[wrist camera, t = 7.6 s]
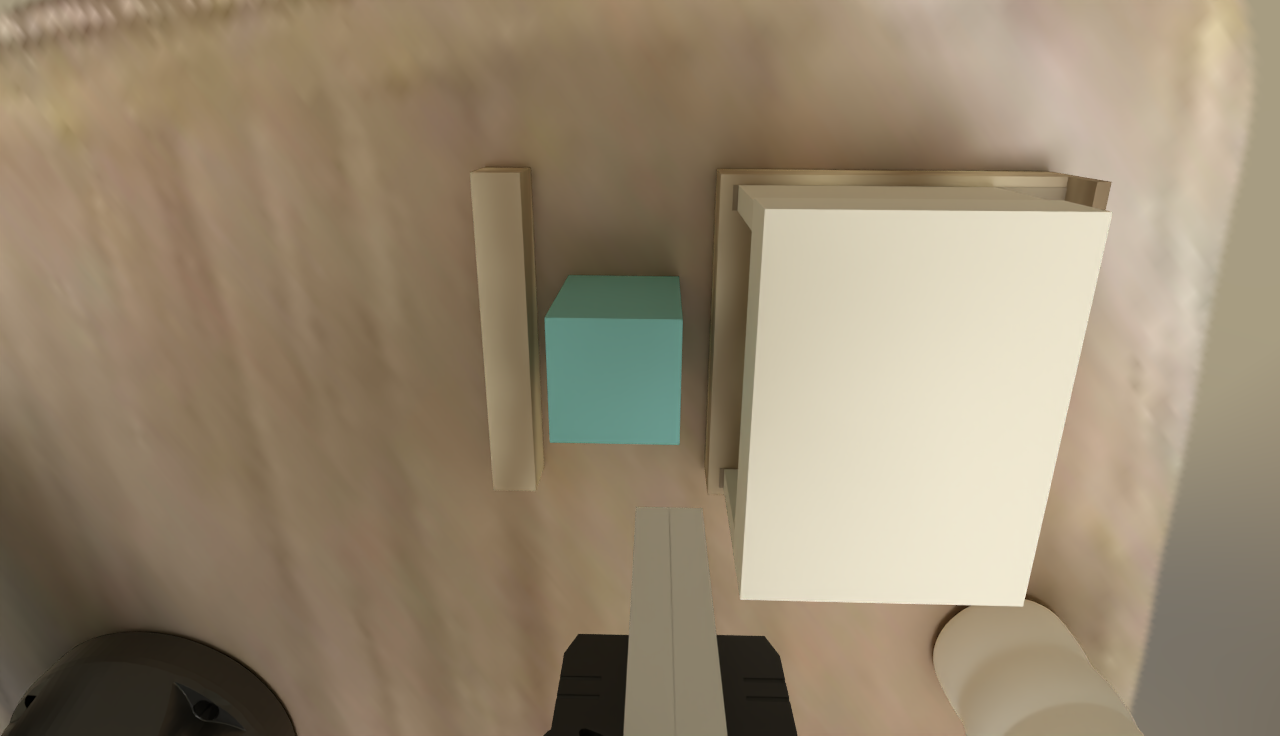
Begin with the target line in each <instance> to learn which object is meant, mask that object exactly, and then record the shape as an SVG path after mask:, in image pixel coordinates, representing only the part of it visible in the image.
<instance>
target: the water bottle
mask: <svg viewBox="0 0 1280 736" xmlns="http://www.w3.org/2000/svg"><path fill="white" fill-rule="evenodd" d="M933 663H934V669H935V672H936V675H937V678H938V680H939V682H940V685H941V687H942V689H943V691H944V693H945V695H946V697H947V698H948V700H949V702H950V704H951V706H952V707H953V709H954V711H955V712H956V714H957V715H958V717H959V718H960V719H961V721H962V722H963V726H964V729H965V733H966V736H1144V734H1143V733H1142V732H1141V731H1140V730H1139V729H1138V727H1137V725H1136V723H1135V721H1134V719H1133V717H1132V715H1131V713H1130V711H1129V710H1128V708H1127V707H1126V705H1125V704H1124V702H1123V701H1122V699H1121V698H1120V697H1119V695H1118V694H1117V693H1116V691H1115V690H1114V689H1113V688H1112V686H1111V685H1110V684H1109V683H1108V682H1107V680H1106V679H1105V678H1104V677H1103V676H1102V675H1101V674H1100V673H1099V672H1098V671H1097V670H1096V669H1095V668H1094V667H1092V665H1091V663H1090V661H1089V660H1088V658H1087V656H1086V654H1085V653H1084V651H1083V649H1082V648H1081V646H1080V645H1079V643H1078V642H1077V640H1076V639H1075V638H1074V636H1073V635H1072V633H1071V632H1070V631H1069V629H1068V628H1067V627H1066V626H1065V624H1064V623H1063V622H1062V621H1061V620H1060V619H1059V618H1058V616H1057V615H1055V614H1054V613H1053V612H1052V611H1050V610H1049V609H1048V608H1046V607H1044V606H1042V605H1040V604H1038V603H1036V602H1033V601H1030V600H1026V599H1025V600H1024V605H1023V607H1022V606H981V605H971V606H969V607H967V608H965V609H964V610H962V611H961V612H959V613H958V614H957V615H955V616H954V617H953V618H952V619H951V620H950V621H949V622H948V623H947V624H946V625H945V627H944V628H943V629H942V631H941V632H940V634H939V636H938V638H937V640H936V643H935V647H934V652H933Z"/></svg>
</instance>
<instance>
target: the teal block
mask: <svg viewBox="0 0 1280 736" xmlns="http://www.w3.org/2000/svg"><path fill="white" fill-rule="evenodd" d="M682 329H683V317H682V305H681V293H680V281H679V276H599V275H568V277H567V279H566V281H565V283H564V284H563V286H562V288H561V290H560V291H559V293H558V295H557V297H556V298H555V300H554V302H553V304H552V305H551V307H550V309H549V311H548V312H547V314H546V316H545V341H546V364H547V388H548V412H549V435H550V442H551V443H605V444H659V445H679V444H680V406H681V368H682Z"/></svg>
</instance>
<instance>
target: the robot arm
mask: <svg viewBox="0 0 1280 736" xmlns="http://www.w3.org/2000/svg"><path fill="white" fill-rule="evenodd" d="M1 736H295V733H294V730H293V727H292V724H291V722H290V720H289V718H288V716H287V714H286V712H285V710H284V709H283V707H282V705H281V704H280V702H279V701H278V700H277V698H276V697H275V696H274V695H273V693H272V692H271V691H270V690H269V689H268V688H267V687H266V686H265V685H264V684H263V683H262V682H261V681H260V680H259V679H258V678H257V677H256V676H255V675H253V674H252V673H251V672H250V671H248V670H247V669H246V668H244V667H243V666H242V665H240V664H239V663H237V662H236V661H234V660H232V659H231V658H229V657H227V656H225V655H224V654H222V653H220V652H218V651H216V650H214V649H211V648H209V647H207V646H204V645H202V644H199V643H196V642H193V641H190V640H187V639H184V638H180V637H176V636H171V635H166V634H159V633H151V632H124V633H115V634H110V635H105V636H101V637H98V638H94V639H92V640H89V641H87V642H84V643H82V644H80V645H78V646H77V647H75V648H73V649H72V650H71V651H69V652H68V653H66V654H65V655H64V656H63V657H62V658H61V659H60V660H59V661H58V662H56V663H55V664H54V665H53V666H52V667H51V668H50V669H49V670H48V671H47V672H46V673H44V674H43V675H42V676H41V677H40V678H39V679H38V680H37V681H36V682H35V683H34V684H33V685H32V686H31V687H30V688H29V690H28V691H27V692H26V693H25V695H24V696H23V697H22V699H21V700H20V702H19V704H18V706H17V707H16V709H15V711H14V713H13V715H12V717H11V721H10V724H9V725H8V727H7V728H6V729H5V731H4V732H3V733H2V735H1ZM544 736H797V731H796V727H795V722H794V718H793V713H792V709H791V704H790V702H789V695H788V691H787V686H786V683H785V677H784V673H783V668H782V664H781V659H780V656H779V654H778V653H777V652H776V651H775V649H774V648H773V647H772V645H771V644H770V643H769V642H768V640H767V639H766V638H765V636H733V635H716V627H715V618H714V609H713V600H712V591H711V582H710V573H709V564H708V555H707V546H706V537H705V528H704V519H703V510H702V508H664V507H636V517H635V535H634V553H633V571H632V590H631V608H630V626H629V635H601V634H578V635H577V637H576V638H575V639H574V641H573V642H572V643H571V645H570V646H569V647H568V649H567V650H566V652H565V653H564V658H563V663H562V669H561V675H560V681H559V687H558V692H557V699H556V704H555V710H554V716H553V721H552V727H551V730H549V731H548V732H547V733H546V734H545V735H544Z"/></svg>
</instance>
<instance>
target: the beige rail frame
mask: <svg viewBox="0 0 1280 736" xmlns="http://www.w3.org/2000/svg"><path fill="white" fill-rule="evenodd" d="M470 182H471V196H472V209H473V223H474V236H475V250H476V263H477V277H478V290H479V303H480V317H481V330H482V344H483V357H484V371H485V384H486V398H487V411H488V424H489V438H490V451H491V465H492V478H493V490H501V491H536V490H537V487H538V484H539V481H540V478H541V475H542V472H543V469H544V447H543V425H542V404H541V382H540V360H539V339H538V317H537V295H536V274H535V252H534V230H533V209H532V187H531V168H502V167H484V168H481V169H478V170H475V171H472V172H470ZM739 185H795V186H921V187H997V188H1001V189H1005V190H1009V191H1013V192H1017V193H1021V194H1026V195H1030V196H1034V197H1038V198H1042V199H1046V200H1064V201H1068V202H1072V203H1076V204H1080V205H1085V206H1089V207H1093V208H1097V209H1102V210H1105V209H1106V205H1107V200H1108V196H1109V191H1110V187H1111V182H1108V181H1102V180H1097V179H1091V178H1085V177H1079V176H1073V175H1067V174H1061V173H1055V172H1049V171H916V170H778V169H717V175H716V200H715V226H714V251H713V276H712V301H711V326H710V351H709V376H708V401H707V427H706V452H705V475H706V484H707V493H708V495H724V469H738V462H739V444H740V427H741V410H742V392H743V375H744V358H745V340H746V323H747V306H748V288H749V271H750V253H751V236H752V231H751V229H750V228H749V226H748V225H747V224H746V222H745V221H744V219H743V218H742V216H741V215H740V214H739V212H738V211H737V210H738V191H739Z"/></svg>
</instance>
